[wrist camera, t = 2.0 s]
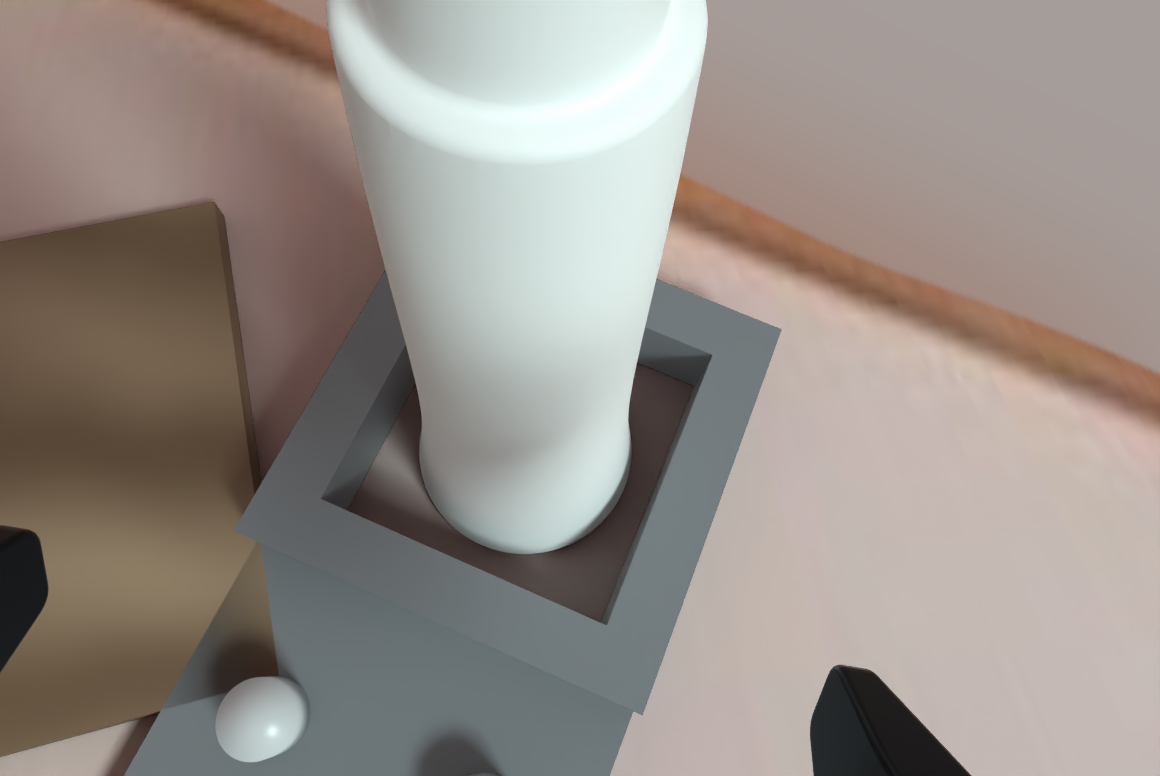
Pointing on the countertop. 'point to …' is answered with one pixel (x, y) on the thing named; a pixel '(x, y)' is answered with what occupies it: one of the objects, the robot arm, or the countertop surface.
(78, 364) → the walnut pad
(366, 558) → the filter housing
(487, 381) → the cosmetic bottle
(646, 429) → the countertop surface
